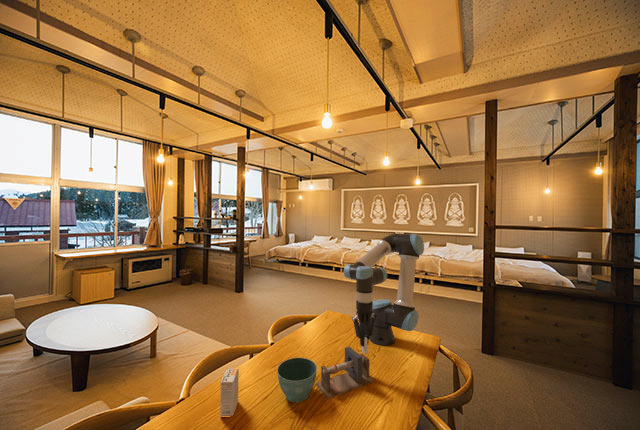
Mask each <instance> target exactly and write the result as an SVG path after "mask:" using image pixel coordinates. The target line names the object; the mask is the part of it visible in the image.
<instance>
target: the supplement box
mask: <svg viewBox="0 0 640 430" xmlns="http://www.w3.org/2000/svg"><path fill="white" fill-rule="evenodd" d="M239 375H240V374H239V368H227V369H226V370H225V372H224V375H223V376H222V378H221V381H220V403H219V404H220V408H219V409H220V413H219V414H220V415H219V417H220V416H233V415H234V416H235V413H236V411H237V406H238V403H239ZM234 412H235V413H234ZM234 416H233V417H234Z"/></svg>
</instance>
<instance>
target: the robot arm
mask: <svg viewBox="0 0 640 430" xmlns="http://www.w3.org/2000/svg"><path fill="white" fill-rule="evenodd" d="M424 252H425V243H424V240H423V238H422V236H420V235H419V234H414V233H392V234H389V235H386V236H385V237H382V238H381V239H380V240H379V241H378V242H377V244H376V245H375V246H374V247H373V248H372V249H370V250H369V251H368V252H367V253H365V254H364V255H363V256H362V257H360V258H359V260H357V261H355V262H354V264H352V263H351V264H346V265H345V266H344V268H343V274H344V277H345V278H346V279H350V280H354V281H355V282H356V283H355V284H356V289H355V290H356V291H355V292H356V293H355V294H356V295H355V299H356V301H355V309H356V314H355V316H352V317H351V321H352V322H353V327H354V331H355V335H356V338H358V339H359V345H360V347H361V348H360V351H361V352H362V354H363V355H365V354H368V345H369V341H370V342H371V343H373V344H375V345H379V346H391V345H393V344H395V341H396V340H395V335H394V331H393V328H392V327H395V328H398V329H400V330H402V331H405V332H412V331H414V329H415V328H416V327H417V325H418V322H419V312H418V310H416V305H415V304H414V302H413V300H414V291H415V289H414V288H415V278H416V269H417V268H416V266H417V261H418V260H419V259H420V256H422V255H423V254H424ZM391 253H398V257H399V258H400V263H399V264H400V265H399V273H398V274H399V275H398V283H397V284H398V286H397V294H396V300H395V301H394V302H393V303H392V300H389V299H385V298H384V299H377V300H373V299H374V297H373V296H374V294H373V293H374V292H373V291H374V289H373V288H374V287H373V286H376V285H380V284H382V283H385V282H386V281H387V279H388V273H387V270H386V269H385V268H383V267H373V266H375V265H376V264H377V263H378V262H379V261H381V259H383V258H384V257H385V256H386V255H387V256H388V255H390V254H391Z"/></svg>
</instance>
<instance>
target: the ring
mask: <svg viewBox="0 0 640 430" xmlns="http://www.w3.org/2000/svg"><path fill="white" fill-rule="evenodd" d="M352 360H354V367H351V368H348V369H345V370H344V371H345V372H346V373H347V372H348V373H349V374H350V375H351V376H352V377H353V378H354V379H355V380H356V381H357V382H359V381H361V380H362V356H361V354H359V352H357V351H356V350H355V349H353V348H352V347H350V346H347V347H346V346H345V347H344V363H345V362H349V361H352Z"/></svg>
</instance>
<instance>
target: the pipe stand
mask: <svg viewBox="0 0 640 430" xmlns="http://www.w3.org/2000/svg"><path fill="white" fill-rule="evenodd" d="M360 355H361V356H362V380H361V381H359V382H357V381H356V380H355V379H354V378H353V377H352V376H351V375H350V374H349V373H348V372H347V371H346V370H345V369H348V368H351V367H354V360H352V361H349V362H345V361H344V362H343V363H339V364H334V365H331V366H330V367H326V366H325V365H322V366H320V372H321V373H320V375H321V376H320V377H321V378H320V381H318V382H316V386H317V387H318V389H319V390H320V391H321V393H322V394H323V395H324V396H325V398H326V399H327V400H330V399H333V398H335V397H338V396H340V395H342V394H346V393H347V392H350V391H353V390H356V389H358V388H361V387H364V386H366V385H369V384H372V383H374V382H375V380H376V379H375V378H374V377H372V375H370V358H368V357H367V356H365V354H364V353H361V354H360ZM343 371H346V372H345V373H341V374H339V375H336V376H333V377H331V375H334V374H338V373H339V372H343Z"/></svg>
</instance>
